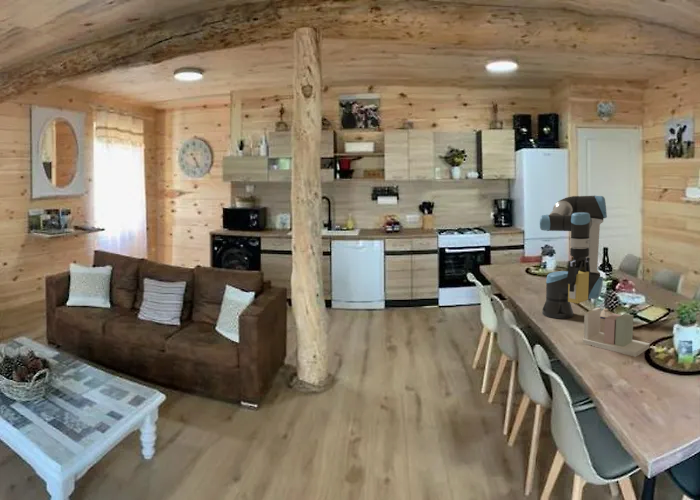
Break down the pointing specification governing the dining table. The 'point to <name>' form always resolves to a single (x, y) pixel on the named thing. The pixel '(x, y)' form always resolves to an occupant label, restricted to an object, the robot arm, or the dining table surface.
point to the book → (580, 287)
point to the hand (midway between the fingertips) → (578, 296)
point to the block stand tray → (612, 333)
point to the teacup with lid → (603, 315)
